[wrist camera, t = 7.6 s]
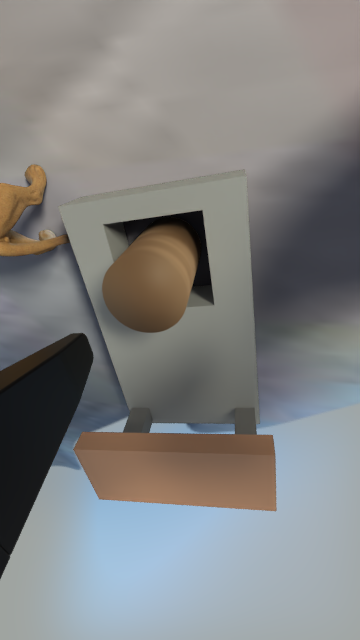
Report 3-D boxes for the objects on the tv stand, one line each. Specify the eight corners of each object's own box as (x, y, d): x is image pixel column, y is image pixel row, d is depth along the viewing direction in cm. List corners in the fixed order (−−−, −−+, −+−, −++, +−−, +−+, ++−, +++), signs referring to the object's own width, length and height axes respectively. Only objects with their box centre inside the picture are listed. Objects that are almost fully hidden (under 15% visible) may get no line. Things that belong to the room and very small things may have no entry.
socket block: (244, 169, 17) (246, 175, 14) (257, 394, 25) (259, 423, 23) (81, 197, 19) (58, 206, 16) (143, 396, 27) (133, 422, 25)
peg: (196, 212, 18) (179, 249, 13) (205, 273, 20) (193, 330, 15) (134, 221, 19) (90, 259, 13) (148, 279, 21) (115, 335, 15)
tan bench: (261, 345, 23) (275, 455, 15) (263, 394, 25) (276, 511, 17) (123, 351, 25) (73, 449, 17) (137, 396, 27) (99, 499, 20)
